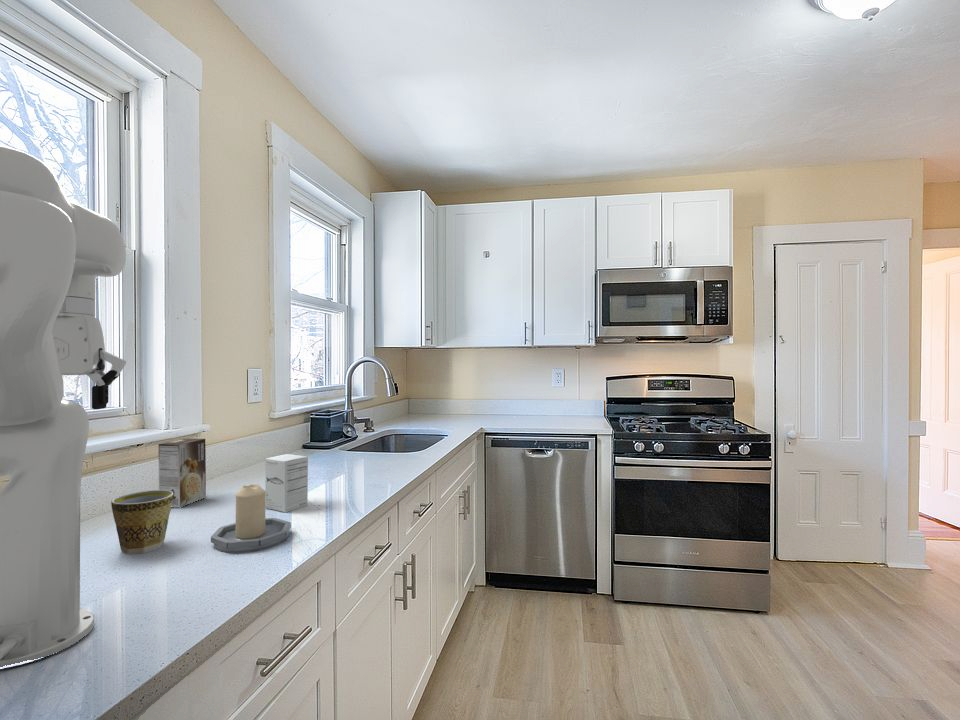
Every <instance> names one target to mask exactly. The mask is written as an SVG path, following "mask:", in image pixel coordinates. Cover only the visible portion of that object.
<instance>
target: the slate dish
mask: <svg viewBox="0 0 960 720" xmlns="http://www.w3.org/2000/svg"><path fill="white" fill-rule="evenodd" d="M291 527H292V522H290V521H288V520H285V519H284V520H283V519H280V518H277V517H265V534H263V535H262V536H259V537H256V538H252V539H238V538H236V522H234V523H229V524H226V525H223V526H220V527H219V528H217V530H215V532H214V533H213V534H212V535H211V536H210V543H212V544H213V548H214V549H215V550H217V551H220V552H224V553H233V554H234V553H249V552H256V551H261V550H264V549H269V548H273V547H274V546H277V545H279V544H281V543H284V542H285V541H286V540H287V539H288V538H289V536H290V530H291Z"/></svg>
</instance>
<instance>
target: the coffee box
mask: <svg viewBox="0 0 960 720" xmlns="http://www.w3.org/2000/svg"><path fill="white" fill-rule="evenodd" d="M157 445H158V490H167V491H171V492H173V501H172V507H182V506H184V507H186V506H185V505H187V504H189V505H191V504H194V503H196V502H195V501H197V502H198V500H199V501H202V500H203V498H204V499H206V498H207V484H206V482H207V475H206V474H207V473H206V471H207V470H206V469H207V466H206V463H207V462H206V461H207V460H206V458H207V457H206V455H207V453H206V438H181V439H177V440H172V441H171V440H170V441H166V442H161V443H158V444H157ZM205 497H206V498H205ZM201 499H202V500H201ZM193 502H194V503H193ZM190 503H191V504H190ZM187 506H188V505H187ZM182 508H183V507H182Z"/></svg>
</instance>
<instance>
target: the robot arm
mask: <svg viewBox="0 0 960 720" xmlns="http://www.w3.org/2000/svg"><path fill="white" fill-rule="evenodd" d="M126 261H127V251H126V246H125V243H124V239H123V236H122V233H121V231H120V228H119V227H118V225H117V224H116V223H115V222H114V221H112V219H110V218H108V217H106V216H105V215H102V214H100V213H99V212H95V211H93V210H91V209H90V208H87V207H84V206H83V205H80V204H78V203H75V202H72V201H71V200H69V199H68V198H67V196H66V193H65V191H64V190H63V187H62V186H61V184H60V182H59V180H58V178H57V177H56V175H55V174H54V172H53V171H52V170H51V168H49V166H47V164H46V163H44V162H43V161H42V160H40V159H39V158H37V157H35V156H34V155H31V154H29V153H27V152H25V151H22V150H19V149H17V148H12V147H7V146H4V145H0V476H7V477H9V480H8V482H6V484H4V485H3V486H2V487H1V489H0V667H3V666H5V665H6V666H7V665H11V664H15V663H20V662H23V661H27V660H34V659H38V658H41V657H45V656H48V655H51V656H53V655H54V654H53V653H56V652H58V653H60V652H62V651H64V650H66V649H68V648H70V647H72V646H74V645H75V644H77V643H78V642H80V641H81V640H82V638H83V637H84V636H85V637H86V636H87V635H88V634H89V633H90V632H91V631H92V630H93V629H94V627H93V626H95V615H94V614H93V612H91V611H89V610H87V609H83V608H81V598H80V597H81V486H82V473H83V464H84V459H85V454H86V450H87V449H86V448H87V444H88V439H89V431H90V419H89V416H88V413H87V411H86V410H85V408H84V407H83V406H81V405H80V404H79V403H77V402H75V401H72V400H69V399H64V394H65V393H64V391H65V390H64V387H65V386H64V378H63V376H84V375H85V376H86V375H87V377H88V378H90V380H91V381H92V382H93V383H95V385H94V386H93V385H92V388H91V409H93V410H101V409H103V410H104V409H106V408H107V404H108V403H109V388H110V387H109V386H111V385H112V384H113V382H114V381H115V380H116V379H117V378H118V377H120V375H121V372H122V371H123V369H124V368H125V366H126V364H127V361H126V360H125V359H123V358H121V357H119V356H117V355H115V354H112V353H109V352H107V351H106V347H105V339H104V338H105V337H104V333H103V328H102V325H101V320H100V318H97V317H96V277H104V278H108V277H109V278H112V277H116V276H118V275H119V274H121V273H122V271H123V270H124V269H125V265H126ZM106 363H108V364H109V363H110V364H111V368H110V370H109V371H107V372H106V373H105V372H104V371H105V368H106ZM85 637H84V638H85ZM84 638H83V639H84ZM80 639H81V640H80ZM79 640H80V641H79ZM77 641H78V642H77ZM76 642H77V643H76ZM71 645H72V646H71ZM67 647H68V648H67ZM65 648H66V649H65ZM63 649H64V650H63ZM61 650H62V651H61ZM59 651H60V652H59ZM52 654H53V655H52ZM56 654H57V653H56Z"/></svg>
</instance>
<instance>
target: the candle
mask: <svg viewBox="0 0 960 720" xmlns="http://www.w3.org/2000/svg"><path fill="white" fill-rule="evenodd" d="M265 518H266V508H265V490H264V488H262V487H261V486H260V485H259V484H250V485H243V486H242V487H241V488H240V489H239V490H238V492H236V494H235V523H236V538H238V539H252V538H256V537H259V536H262V535H263V534H265Z"/></svg>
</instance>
